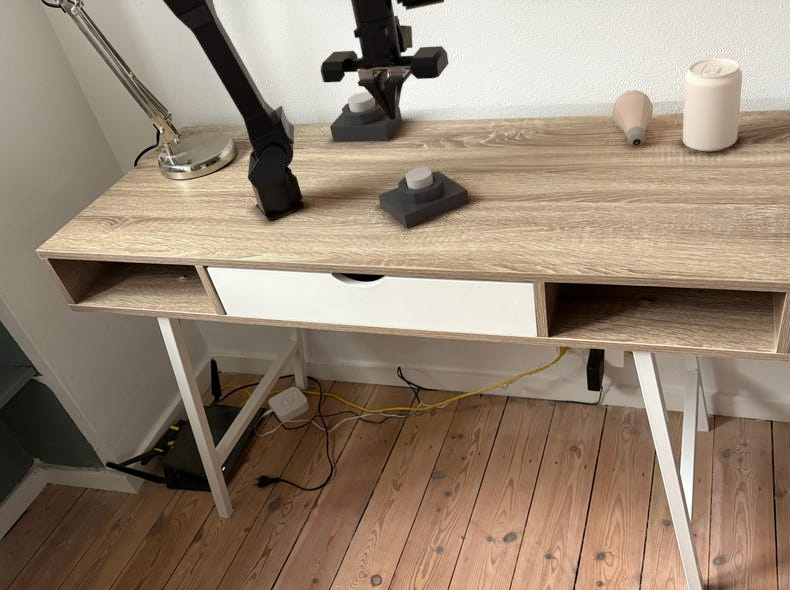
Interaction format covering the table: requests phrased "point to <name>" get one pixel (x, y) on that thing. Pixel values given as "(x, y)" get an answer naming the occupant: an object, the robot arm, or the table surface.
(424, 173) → the small button
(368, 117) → the dark grey button mount
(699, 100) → the beverage can
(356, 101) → the large button
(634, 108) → the light bulb
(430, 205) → the dark grey button base
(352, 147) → the table surface
